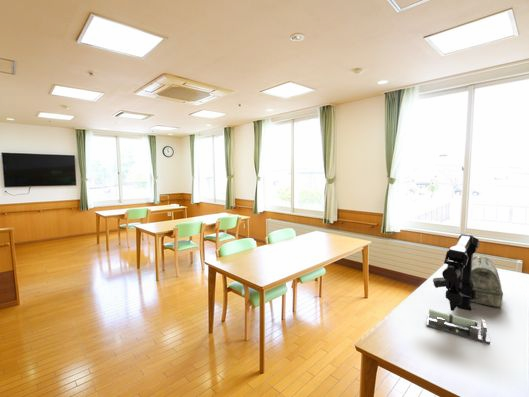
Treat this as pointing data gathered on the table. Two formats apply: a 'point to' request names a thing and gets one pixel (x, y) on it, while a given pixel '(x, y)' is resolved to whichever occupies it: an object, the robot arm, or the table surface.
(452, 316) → the tube
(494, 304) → the lunch bag
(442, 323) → the saddle plate
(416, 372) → the table surface
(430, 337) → the table surface
